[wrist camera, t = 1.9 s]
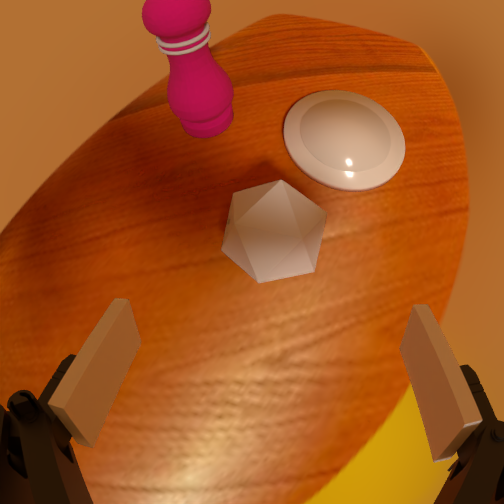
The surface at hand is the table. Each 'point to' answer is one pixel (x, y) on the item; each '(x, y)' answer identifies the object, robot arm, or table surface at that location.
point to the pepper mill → (191, 65)
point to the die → (273, 231)
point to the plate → (344, 140)
